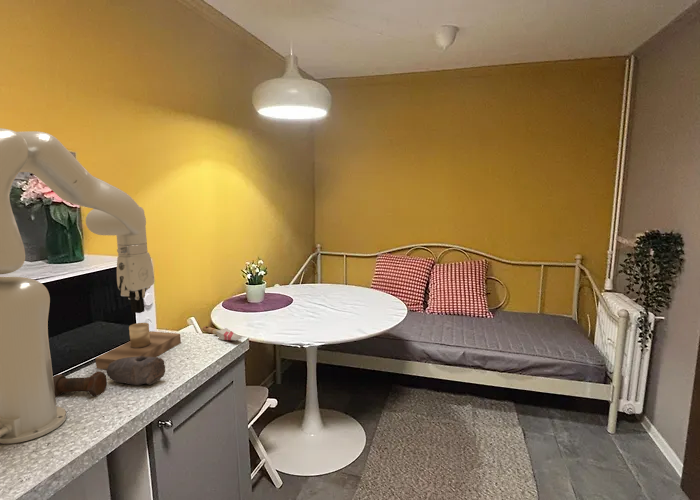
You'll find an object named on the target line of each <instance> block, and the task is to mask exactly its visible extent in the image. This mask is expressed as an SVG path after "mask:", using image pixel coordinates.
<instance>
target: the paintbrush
mask: <svg viewBox="0 0 700 500" xmlns="http://www.w3.org/2000/svg"><path fill="white" fill-rule="evenodd" d="M202 331H203V332H206V333H210V334H212V335H215V336H217V337H219V338H218V339H217V340H225V341H237V340H241V339H243V337H242V336H240V335H238V334H237V333H235V332H234V331H232V330H230V329H228V328H227V327H226V328H225V327H224V328H222V329H216V328H213V327H211V326H208V325H204V326H202ZM217 337H216V338H217Z"/></svg>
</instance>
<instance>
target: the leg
mask: <svg viewBox="0 0 700 500" xmlns="http://www.w3.org/2000/svg"><path fill="white" fill-rule="evenodd" d="M128 330H129V333H128V334H129V341H130V344H131V348H144V347H147V346H149V345H150V334H149V332H150V324H149V323H148V322H137V323H132V324H130V325H129V326H128Z"/></svg>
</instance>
